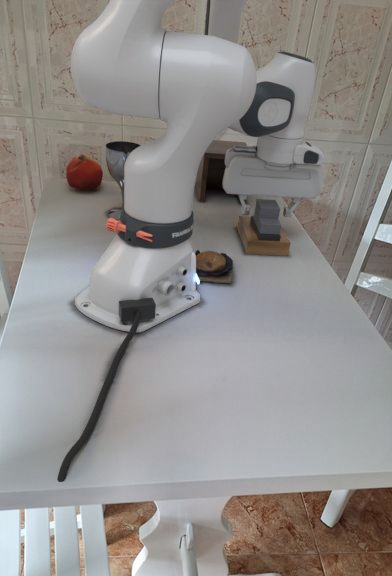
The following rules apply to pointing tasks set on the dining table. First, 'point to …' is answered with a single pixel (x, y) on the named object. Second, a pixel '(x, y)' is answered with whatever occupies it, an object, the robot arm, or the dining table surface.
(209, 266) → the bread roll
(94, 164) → the red pomegranate
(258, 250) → the brown wooden block
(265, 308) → the dining table surface
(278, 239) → the grey notched block
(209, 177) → the open box
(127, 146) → the wine glass
